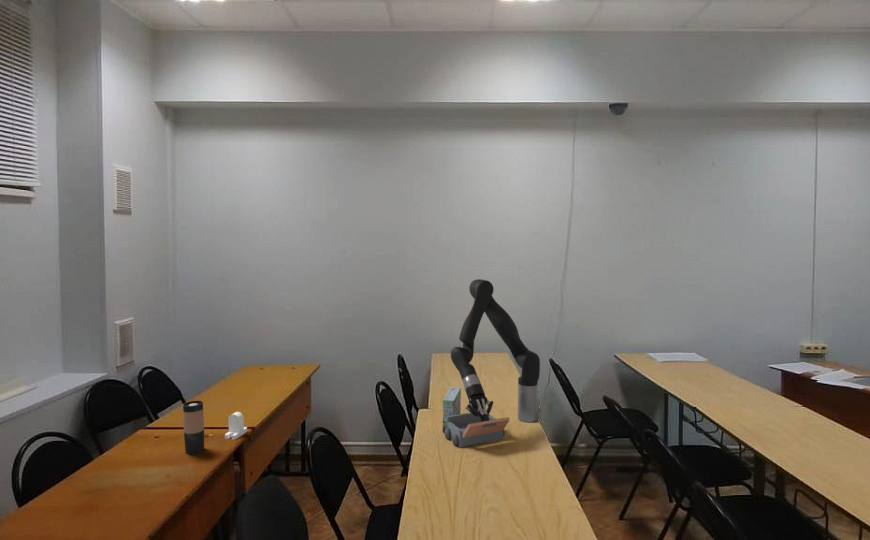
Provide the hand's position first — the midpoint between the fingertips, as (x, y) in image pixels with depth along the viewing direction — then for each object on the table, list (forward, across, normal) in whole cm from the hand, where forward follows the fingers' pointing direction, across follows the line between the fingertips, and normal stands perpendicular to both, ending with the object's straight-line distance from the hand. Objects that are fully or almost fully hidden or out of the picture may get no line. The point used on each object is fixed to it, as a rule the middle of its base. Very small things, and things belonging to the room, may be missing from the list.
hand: (486, 424), depth 215 cm
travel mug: (-25, -112, +40) cm, 122 cm away
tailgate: (+1, 0, +6) cm, 6 cm away
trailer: (-1, 0, +15) cm, 15 cm away
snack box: (-14, -2, +28) cm, 31 cm away
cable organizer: (-33, -96, +48) cm, 112 cm away
